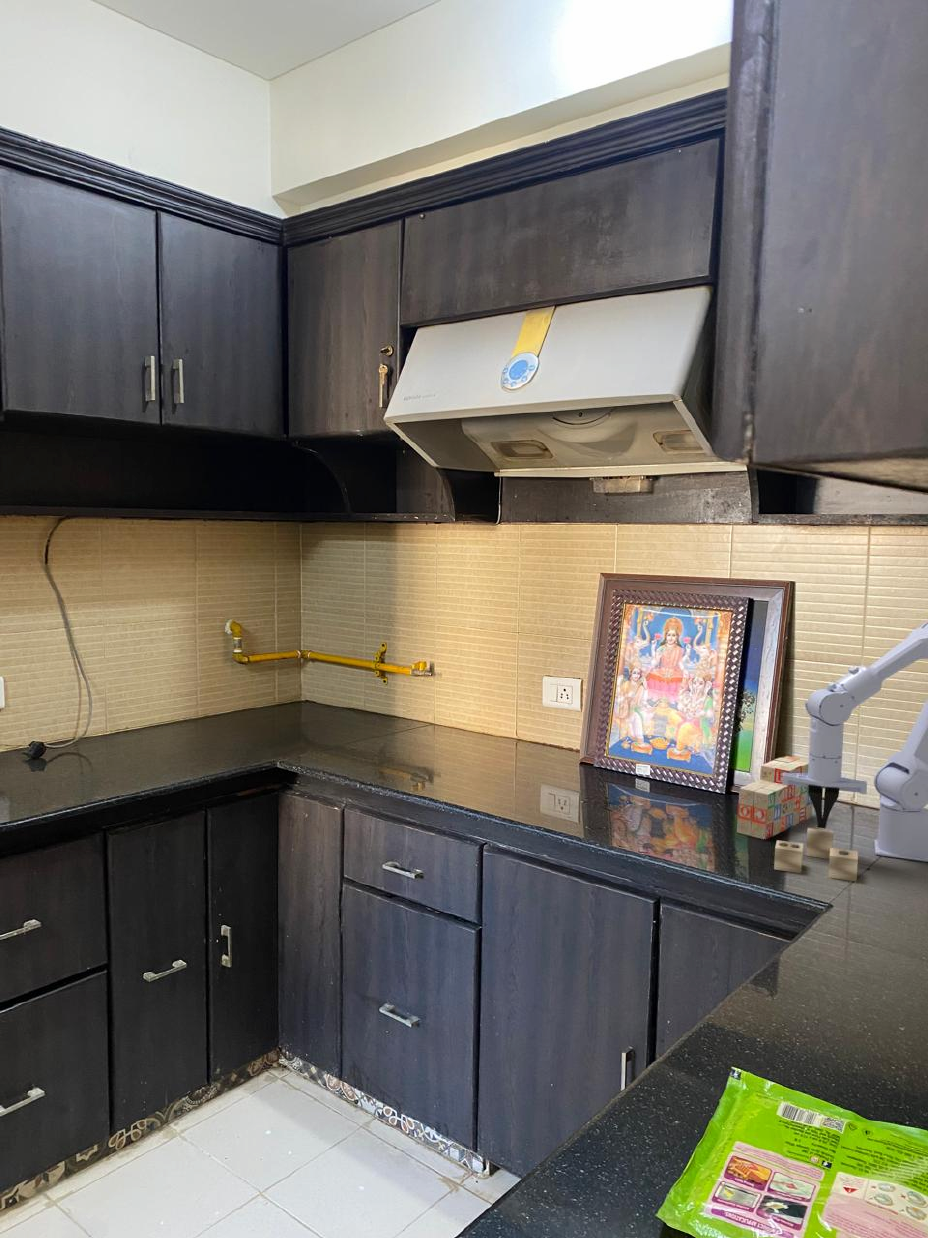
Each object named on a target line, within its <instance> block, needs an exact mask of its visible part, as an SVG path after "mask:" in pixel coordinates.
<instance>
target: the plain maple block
mask: <svg viewBox="0 0 928 1238" xmlns="http://www.w3.org/2000/svg"><path fill="white" fill-rule="evenodd" d="M805 842H806V843H805V856H808V857H816V858H820V859H821V858H823V859H826V860H827V859H829V858H830V848H834V847H833V845H834V831H833V830H827V829H826V830H825V829H821V828H811V827H807V832H806V841H805Z"/></svg>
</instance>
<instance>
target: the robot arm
mask: <svg viewBox="0 0 928 1238" xmlns="http://www.w3.org/2000/svg"><path fill="white" fill-rule="evenodd" d="M922 659H923V660H924V659H926V660H928V621H926V622H924V623H923V624H921V626H920V627H917V628H915V629H913V630H912V631H911V632H910V634H909V635H908V636H907V637H906V638H905V639H903V640H902V641H901V642H900V643H898V644H897V645H896V646H894V647H893V648H892V649H890V650H889V651H888V652H887V653H885V654H884V655H882V657H880V658H879V659H877V660H876V661H875V662H873V664H871V665H870V666H867V665H858V666H851V667H850V668H848V669H847V670H848V673H846V674H844V676H842V677H841V678H839V679H837V680H836V681H835V682H831V681H830V682H829V683H827V688H822V689H821V688H819V689H817V690H815V691H813V692H812V693H811V694H810V695H809V698H808V700H807V702H805V703H804V707H805V711H806V712H807V714H808V716H810V728H809V747H808V748H809V749H808V750H809V751H808V760H809V765H808V774H802V773H783V779H782V785H796V786H805V787H808V794H809V797H810V799H811V801H812V807H813V809H814V813H815V816H816V822H817V823H816V824H817V829H826V827H827V822H828V819H829V816H830V813H831V811H832V809H833V808H834V805H835V803H836V802H837V800H838V799H839V796H840V791H843V792H852V793H859V794H861V795H867V790H868V788H867V787H868V782H867V781H866V780H858V779H854V778H853V779H852V778H848V777H843V776H842V766H843V765H842V763H843V747H844V745H843V744H844V729H845V728H844V726H845V725H844V724H845V722H847V721H848V720H849V719H850V717H851V715H852V713H853V710H854V709H855V708H857V707H859V706H860V705H861V704H863V703H864V702H866V701H867V700H869V699H870V698H872V697H873V696H874V695H877V693H879V692H880V691H881V690H882V685H883V681H885V680H887V679H888V678H890V677H891V676H894V675H895V674H896V673H898V672H900V671H902V670H904V669H905V668H906V667H908V666H910V665H911V664H913V663H915V662H917V661H919V660H922ZM873 785H874V788H875V791H876V792H877V793H878V794H879V814H878V815H879V816H878V828H877V829H878V830H877V839H874V842H873V843H874V854H875V855H877V856H884V857H891V858H899V859H905V860H913V861H920V862H921V861H922V862H927V863H928V808H925V807H926V806H927V805H928V698H927V699H926V701H925V703H924V705H923V706H922V709H921V710H920V713H919V715H918V717H917V719H916V721H915V723H914V724H913V727H912V729H911V730H910V732H909V735H908V736H907V738H906V741H905V743H904V744H903V747H902V749H901V750H900V751H897V752H896V753H894V754H892V755H891V756H889V758H888V760H887V761H886V763H885V764H884V765H883V766H882V767H881V768H879V769H878V770H877V772H876V773H875V775H874V778H873ZM823 793H824V796H823Z"/></svg>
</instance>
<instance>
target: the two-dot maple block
mask: <svg viewBox="0 0 928 1238" xmlns="http://www.w3.org/2000/svg"><path fill="white" fill-rule="evenodd" d="M803 856H804V843H800V842H793V841H786V840H778V839H777V840H776V843H775V847H774V863H773V864H774V865H773V869H774V870H777V871H782V872H788V873H789V872H790V873H797V874H802V868H803V859H804V857H803Z"/></svg>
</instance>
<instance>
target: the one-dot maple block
mask: <svg viewBox="0 0 928 1238" xmlns="http://www.w3.org/2000/svg"><path fill="white" fill-rule="evenodd" d="M858 860H859V851H858V850H852V849H851V850H850V849H846V848H845V849H843V848H836V847H833V848H830V858H829V864H828V876H827V877H828V878H829V879H830V878H831V879H838V880H843V881H844V880H845V881H849V882H857V878H858V864H859V862H858Z"/></svg>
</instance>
